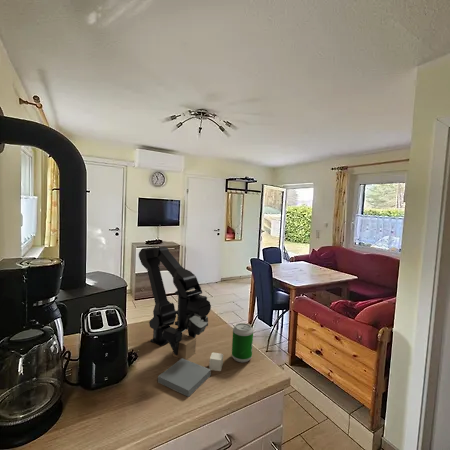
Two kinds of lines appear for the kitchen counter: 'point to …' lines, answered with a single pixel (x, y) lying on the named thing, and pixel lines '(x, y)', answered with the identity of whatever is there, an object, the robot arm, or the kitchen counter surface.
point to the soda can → (242, 342)
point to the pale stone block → (216, 361)
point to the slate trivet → (184, 376)
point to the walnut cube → (186, 347)
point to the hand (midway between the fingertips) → (184, 349)
